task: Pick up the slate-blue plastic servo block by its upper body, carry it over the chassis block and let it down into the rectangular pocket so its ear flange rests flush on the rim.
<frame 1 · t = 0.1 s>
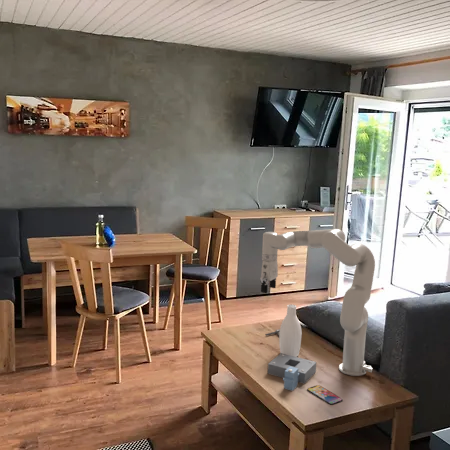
hand: (268, 290, 259), 31 cm above the table, tool pointing down, fingers open, 9 cm apart
servo: (290, 387, 225), on the table
bottle: (289, 354, 258), on the table
smartphone: (324, 396, 219), on the table
chassis: (291, 372, 239), on the table
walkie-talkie: (283, 336, 284), on the table
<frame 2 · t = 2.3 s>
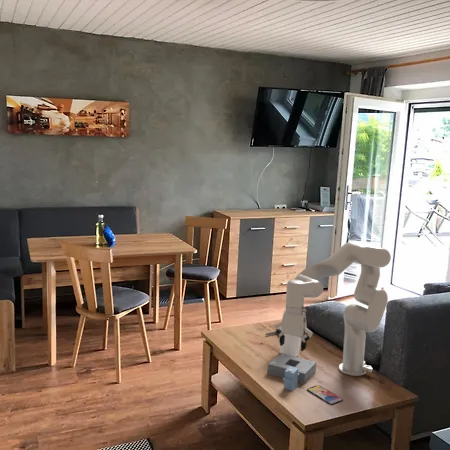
hand: (292, 347, 222), 18 cm above the table, tool pointing down, fingers open, 9 cm apart
nothing on the table moved.
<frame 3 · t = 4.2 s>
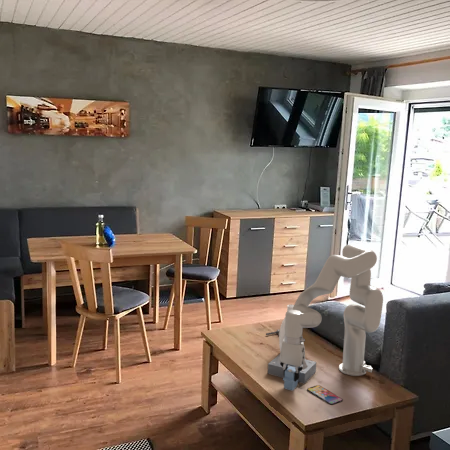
hand: (291, 378, 224), 4 cm above the table, tool pointing down, fingers closed on servo, 4 cm apart
servo: (290, 386, 225), on the table, touching gripper
everything else where it was.
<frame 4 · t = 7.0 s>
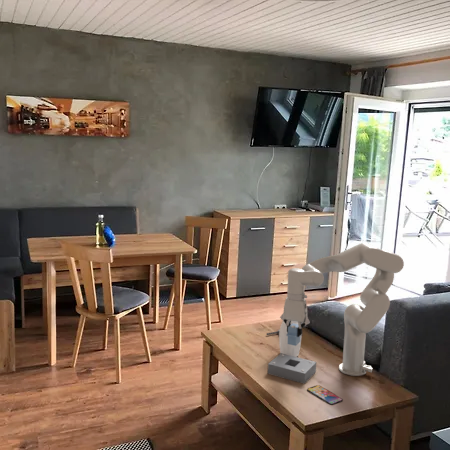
hand: (294, 334, 234), 19 cm above the table, tool pointing down, fingers closed on servo, 4 cm apart
servo: (293, 342, 235), point 15 cm above the table, touching gripper
everything else where it was.
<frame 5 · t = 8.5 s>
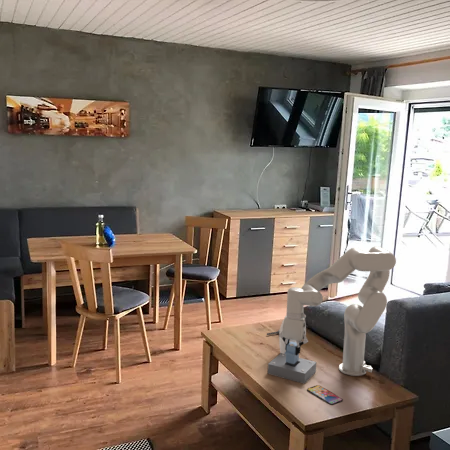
hand: (292, 352, 237), 10 cm above the table, tool pointing down, fingers closed on servo, 4 cm apart
servo: (292, 360, 238), point 6 cm above the table, touching gripper
when the fingers open (6 cm above the table, at t = 9.6 s): servo drops 1 cm, resting on chassis.
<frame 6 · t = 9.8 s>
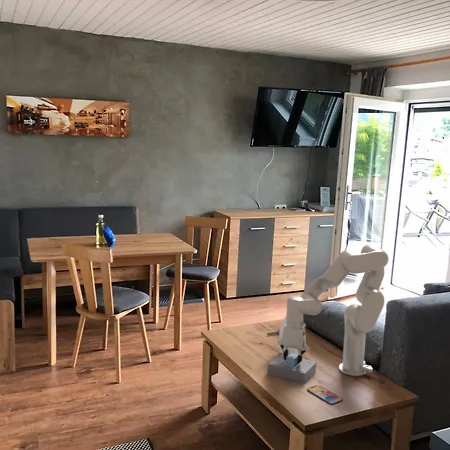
hand: (292, 360, 238), 6 cm above the table, tool pointing down, fingers open, 6 cm apart
servo: (292, 372, 238), resting on chassis
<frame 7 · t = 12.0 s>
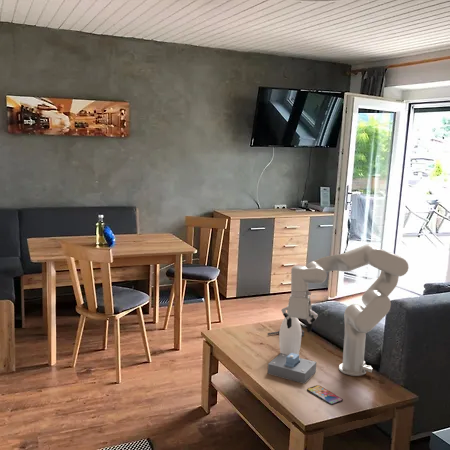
hand: (299, 329, 236), 21 cm above the table, tool pointing down, fingers open, 9 cm apart
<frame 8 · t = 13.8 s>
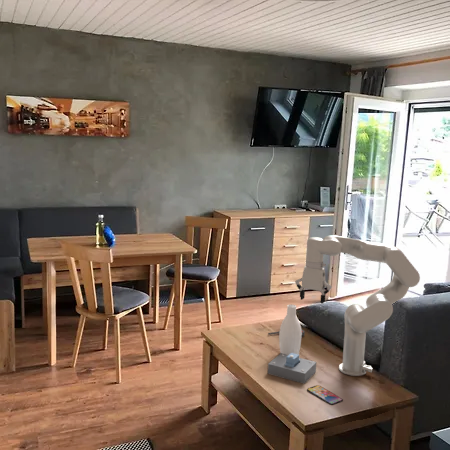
hand: (312, 300, 237), 33 cm above the table, tool pointing down, fingers open, 9 cm apart
at the end: servo 0.1 cm off-centre on the chassis, point 0.3 cm above the chassis's base; servo tilted 0°; the gripper is holding nothing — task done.
